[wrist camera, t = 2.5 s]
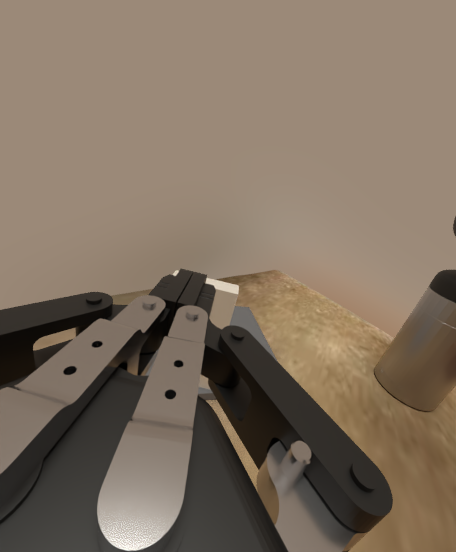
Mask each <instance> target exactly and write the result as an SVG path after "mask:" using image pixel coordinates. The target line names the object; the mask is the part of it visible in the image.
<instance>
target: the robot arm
mask: <svg viewBox="0 0 456 552" xmlns="http://www.w3.org/2000/svg"><path fill="white" fill-rule="evenodd" d="M453 230H454V234H455V236H456V217H455V220H454V224H453ZM206 279H207V275H205V274H201V273H197V272H193V271H189V270H185V269H180V271H179V272H178V273H177V275H176V276H174V275H168V276H165V277H163V278H162V279H161V280H160V282H159V283H158V284H157V286H155V288H154V289H153V290H152V291H151V292H150V294H149V295H146V296H140V297H138V298H136V299H135V300H133V301H132V302H131V303H130V304H129V305H113V299H112V297H111V296H110V295H108V294H105V293H100V292H90V293H84V294H79V295H74V296H69V297H64V298H59V299H54V300H49V301H43V302H39V303H33V304H28V305H24V306H18V307H14V308H9V309H3V310H0V552H348V551H349V550H350V549H351V548H352V547H353V546H354V545H355V544H356V543H357V542H359V541H360V540H361V539H362V538H363V537H364V536H365V535H366V534H367V533H368V532H369V531H370V530H371V529H372V528H373V527H374V526H375V525H376V524H377V523H379V522H380V521H381V520H382V519H383V518H384V517H385V516H386V515H387V514H388V513H389V512H390V510H391V508H392V503H393V499H392V494H391V490H390V487H389V485H388V483H387V481H386V479H385V477H384V476H383V474H382V473H381V471H380V470H379V469H378V467H377V466H376V465H375V464H374V463H373V462H372V461H371V460H370V459H369V458H368V457H367V455H366V454H365V453H364V452H363V451H362V450H361V449H360V448H359V447H358V446H357V445H356V444H355V443H354V442H353V441H352V440H351V439H350V438H349V437H348V435H347V434H346V433H345V432H344V431H343V430H342V429H341V428H340V427H339V426H338V425H337V424H336V423H335V422H334V421H333V420H332V419H331V418H330V417H329V415H328V414H327V413H326V412H325V411H324V410H323V409H322V408H321V407H320V406H319V405H318V404H317V403H316V402H315V401H314V400H313V399H312V398H311V396H310V395H309V394H308V393H307V392H306V391H305V390H304V389H303V388H302V387H301V386H300V385H299V384H298V383H297V382H296V381H295V380H294V379H293V378H292V376H291V375H290V374H289V373H288V372H287V371H286V370H285V369H284V368H283V367H282V366H281V365H280V364H279V363H278V362H277V361H276V360H275V359H274V358H273V356H272V355H271V354H270V353H269V352H268V351H267V350H266V349H265V348H264V347H263V346H262V345H261V344H260V343H259V342H258V341H257V340H256V339H255V338H254V336H253V335H252V334H251V333H250V332H249V331H247V330H246V329H244V328H242V327H239V326H235V325H230V326H226V327H224V328H223V329H220V328H218V327H216V326H215V325H214V324H213V323H212V322H211V321H210V319H209V317H210V314H211V310H212V306H213V302H214V297H215V293H216V289H215V287H214V285H211V284H207V283H206ZM75 327H76V338H74V339H72V340H68V341H65V342H62V343H59V344H56V345H53V346H49V347H46V348H43V349H40V350H36V351H33V345H34V343H35V342H36V341H37V340H38V339H39V338H41V337H44V336H47V335H50V334H54V333H57V332H61V331H64V330H68V329H71V328H75ZM159 348H160V349H159ZM154 360H155V362H154ZM153 362H154V364H153ZM152 364H153V367H152V369H151V372H150V374H149V376H145V375H146V373H147V372H148V370H149V369H150V367H151V365H152ZM374 371H375V375H376V377H377V379H378V381H379V382H380V383H381V385H382V386H383V387H384V388H385V389H386V390H387V391H388V392H389V393H391V394H392V395H393V396H394V397H396V398H397V399H399V400H400V401H402V402H403V403H405V404H407V405H409V406H411V407H413V408H415V409H419V410H422V411H432V410H434V409H435V408H436V407H437V406H438V405H439V404H440V402H441V401H442V400H443V399H444V398H445V397H446V396H447V395H448V393H449V392H450V391H451V390H452V389H453V388H454V387H455V386H456V270H443V271H441V272H439V273H438V274H437V275H436V276H435V278H434V279H433V280H432V282H431V284H430V285H429V287H428V288H427V290H426V291H425V293H424V294H423V296H422V297H421V299H420V301H419V302H418V304H417V305H416V307H415V308H414V310H413V311H412V313H411V314H410V316H409V317H408V319H407V320H406V322H405V323H404V325H403V326H402V328H401V329H400V331H399V332H398V334H397V335H396V337H395V338H394V340H393V341H392V343H391V344H390V346H389V347H388V349H387V350H386V352H385V353H384V355H383V356H382V358H381V359H380V361H379V362H378V364H377V365H376V367H375V369H374ZM200 375H203V376H205V377H206V378H208V385H209V387H210V389H211V391H212V392H213V394H214V396H215V397H216V399H217V401H218V402H219V404H220V406H221V407H222V409H223V411H224V412H225V414H226V416H227V417H228V419H229V421H230V422H231V424H232V426H233V428H234V429H235V431H236V433H237V434H238V436H239V438H240V439H241V441H242V443H243V444H244V446H245V448H246V449H247V451H248V453H249V454H250V456H251V458H252V459H253V461H254V463H255V464H256V466H257V468H258V469H259V472H258V475H257V490H258V492H257V491H256V489H255V487H254V485H253V483H252V481H251V479H250V477H249V475H248V473H247V471H246V470H245V468H244V466H243V464H242V462H241V460H240V458H239V456H238V454H237V452H236V450H235V449H234V447H233V445H232V443H231V441H230V439H229V437H228V435H227V433H226V431H225V429H224V427H223V426H222V424H221V422H220V420H219V418H218V416H217V414H216V413H215V412H214V410H213V409H212V407H211V406H210V405H209V404H208V403H207V402H206V401H205V400H204V399H203V398H202V397H200V396H199V395H198V389H199V382H200Z"/></svg>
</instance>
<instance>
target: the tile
mask: <svg viewBox="0 0 456 552" xmlns="http://www.w3.org/2000/svg"><path fill="white" fill-rule="evenodd" d="M178 272H179V271H175V273H174V274H173V275H174V276H176V275H177V273H178ZM206 283H207V284H211V285H214V287H215V289H216V293H215V297H214V302H213V306H212V310H211V314H210V317H209V319H210V321H211V322H212V323H213V324H214V325H215V326H216V327H218V328H220V329H223V328H224V327H226V326H229V325H230V321H231V318H232V314H233V311H234V307H235V304H236V300H237V296H238V290H239V286H238V285H234V284H230V283H226V282H221V281H217V280H213V279H209V278H207V279H206ZM199 387H201V388H205V389H210V387H209V385H208V378H206V377H205V376H203V375H200V382H199ZM210 390H211V389H210Z"/></svg>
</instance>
